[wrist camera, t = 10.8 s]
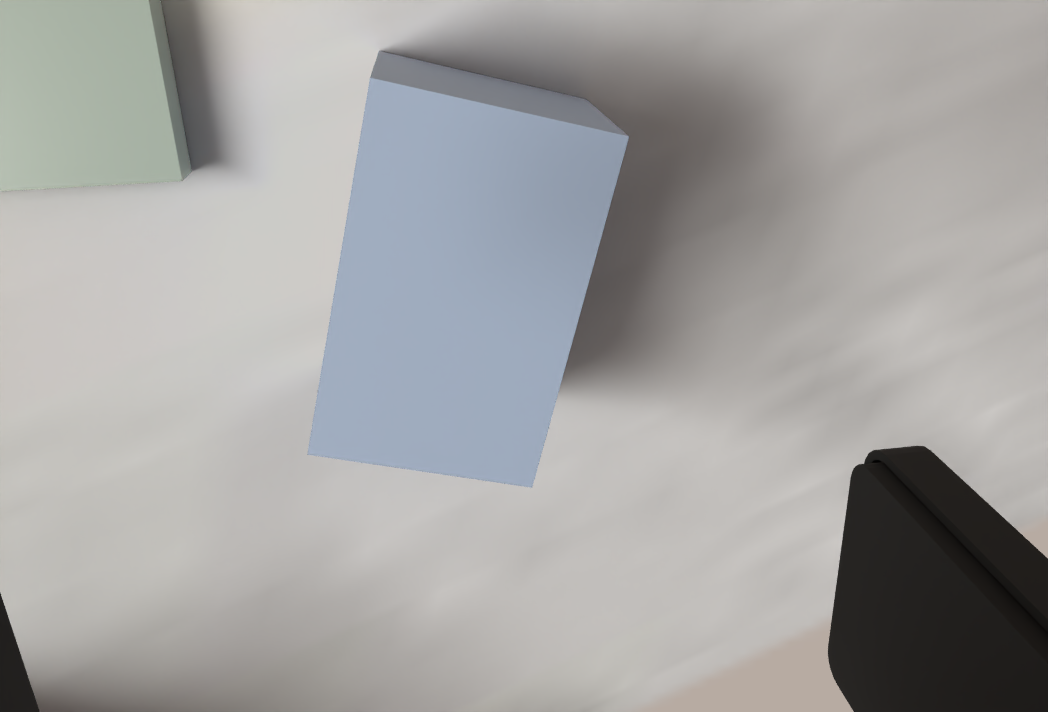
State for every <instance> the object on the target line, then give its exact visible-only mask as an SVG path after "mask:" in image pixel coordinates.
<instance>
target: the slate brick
mask: <svg viewBox="0 0 1048 712" xmlns="http://www.w3.org/2000/svg"><path fill="white" fill-rule="evenodd" d="M628 139H629V136H628V135H627V134H626V133H625V132H623V131H622V130H621V129H620V128H619V127H618V126H616V125H615V124H614V123H613V122H612V121H611V120H610V119H608V118H607V117H606V116H605V115H604V114H603V113H601V112H600V111H599V110H598V109H597V108H596V107H595V106H593V105H592V104H591V103H590V102H589V101H588V100H586V99H583V98H579V97H575V96H571V95H566V94H562V93H558V92H554V91H549V90H545V89H541V88H536V87H532V86H528V85H524V84H519V83H515V82H511V81H506V80H502V79H498V78H494V77H489V76H485V75H481V74H476V73H472V72H468V71H464V70H459V69H455V68H451V67H446V66H442V65H438V64H434V63H429V62H425V61H421V60H416V59H412V58H408V57H404V56H399V55H395V54H391V53H386V52H382V51H379V53H378V56H377V59H376V62H375V65H374V68H373V71H372V74H371V77H370V82H369V88H368V94H367V100H366V106H365V112H364V118H363V124H362V130H361V136H360V142H359V148H358V154H357V160H356V166H355V172H354V178H353V184H352V190H351V196H350V202H349V208H348V214H347V220H346V226H345V232H344V238H343V244H342V250H341V256H340V262H339V268H338V274H337V280H336V286H335V292H334V298H333V304H332V310H331V316H330V322H329V328H328V334H327V340H326V346H325V352H324V358H323V364H322V370H321V376H320V382H319V388H318V394H317V400H316V406H315V412H314V418H313V424H312V430H311V436H310V442H309V448H308V454H307V455H313V456H320V457H327V458H334V459H341V460H347V461H354V462H361V463H368V464H375V465H382V466H388V467H395V468H402V469H409V470H416V471H422V472H429V473H436V474H443V475H450V476H457V477H463V478H470V479H477V480H484V481H491V482H497V483H504V484H511V485H518V486H525V487H532V486H533V482H534V479H535V475H536V471H537V468H538V464H539V461H540V457H541V453H542V450H543V446H544V443H545V439H546V435H547V432H548V428H549V425H550V421H551V417H552V414H553V410H554V406H555V403H556V399H557V396H558V392H559V388H560V385H561V381H562V378H563V374H564V370H565V367H566V363H567V360H568V356H569V352H570V349H571V345H572V341H573V338H574V334H575V331H576V327H577V323H578V320H579V316H580V313H581V309H582V305H583V302H584V298H585V295H586V291H587V287H588V284H589V280H590V276H591V273H592V269H593V266H594V262H595V258H596V255H597V251H598V248H599V244H600V240H601V237H602V233H603V230H604V226H605V222H606V219H607V215H608V211H609V208H610V204H611V201H612V197H613V193H614V190H615V186H616V183H617V179H618V175H619V172H620V168H621V165H622V161H623V157H624V154H625V150H626V146H627V143H628Z"/></svg>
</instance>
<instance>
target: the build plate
mask: <svg viewBox="0 0 1048 712" xmlns="http://www.w3.org/2000/svg"><path fill="white" fill-rule="evenodd" d="M191 172H192V170H191V164H190V159H189V153H188V148H187V142H186V137H185V131H184V126H183V120H182V114H181V109H180V103H179V98H178V92H177V87H176V81H175V76H174V70H173V65H172V59H171V54H170V48H169V43H168V37H167V32H166V26H165V21H164V15H163V10H162V4H161V0H0V191H15V190H33V189H51V188H69V187H86V186H104V185H122V184H140V183H158V182H175V181H183V180H184V179H185V178H186V177H187V176H188V175H189V174H190V173H191Z"/></svg>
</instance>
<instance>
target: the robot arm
mask: <svg viewBox="0 0 1048 712" xmlns="http://www.w3.org/2000/svg"><path fill="white" fill-rule="evenodd" d="M828 657H829V664H830V668H831V671H832V674H833V677H834V679H835V681H836V683H837V685H838V686H839V688H840V690H841V691H842V693H843V695H844V696H845V698H846V700H847V701H848V703H849V704H850V706H851V708H852V709H853V711H854V712H1048V558H1046V557H1045V556H1044V555H1043V554H1042V553H1041V552H1040V551H1039V550H1038V549H1037V548H1036V547H1034V546H1033V545H1032V544H1031V543H1030V542H1029V541H1028V540H1027V539H1026V538H1025V537H1024V536H1023V535H1022V534H1020V533H1019V532H1018V531H1017V530H1016V529H1015V528H1014V527H1013V526H1012V525H1011V524H1010V523H1009V522H1007V521H1006V520H1005V519H1004V518H1003V517H1002V516H1001V515H1000V514H999V513H998V512H997V511H996V510H994V509H993V508H992V507H991V506H990V505H989V504H988V503H987V502H986V501H985V500H984V499H983V498H981V497H980V496H979V495H978V494H977V493H976V492H975V491H974V490H973V489H972V488H971V487H970V486H968V485H967V484H966V483H965V482H964V481H963V480H962V479H961V478H960V477H959V476H958V475H957V474H955V473H954V472H953V471H952V470H951V469H950V468H949V467H948V466H947V465H946V464H945V463H944V462H942V461H941V460H940V459H939V458H938V457H937V456H936V455H935V454H934V453H933V452H932V451H931V450H929V449H927V448H926V447H924V446H911V447H901V448H891V449H881V450H874V451H872V452H870V453H869V454H868V456H867V457H866V459H865V463H864V464H859V465H857V466H855V468H854V469H853V471H852V475H851V480H850V488H849V495H848V503H847V510H846V518H845V525H844V532H843V540H842V547H841V555H840V562H839V570H838V577H837V585H836V592H835V600H834V607H833V615H832V622H831V630H830V637H829V644H828ZM0 712H39V709H38V706H37V703H36V700H35V697H34V694H33V691H32V688H31V685H30V681H29V678H28V675H27V672H26V669H25V666H24V663H23V660H22V657H21V654H20V651H19V648H18V645H17V642H16V639H15V636H14V633H13V630H12V627H11V624H10V621H9V618H8V615H7V612H6V609H5V606H4V603H3V600H2V597H1V594H0Z"/></svg>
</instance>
